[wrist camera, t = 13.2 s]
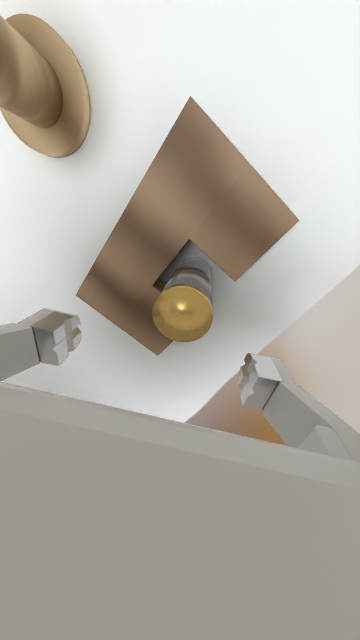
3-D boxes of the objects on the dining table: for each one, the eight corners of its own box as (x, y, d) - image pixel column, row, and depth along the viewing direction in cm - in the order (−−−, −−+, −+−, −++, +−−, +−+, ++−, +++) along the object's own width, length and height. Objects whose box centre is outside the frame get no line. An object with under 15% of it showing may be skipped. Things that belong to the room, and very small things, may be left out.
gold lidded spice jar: (189, 297, 24) (176, 350, 14) (169, 270, 22) (140, 309, 13) (217, 279, 22) (224, 324, 13) (198, 249, 21) (188, 274, 11)
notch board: (162, 342, 27) (157, 355, 25) (89, 287, 25) (75, 295, 22) (286, 220, 19) (299, 220, 16) (193, 115, 16) (190, 96, 13)
